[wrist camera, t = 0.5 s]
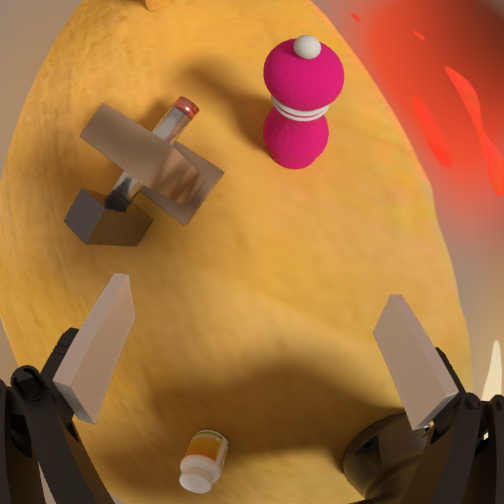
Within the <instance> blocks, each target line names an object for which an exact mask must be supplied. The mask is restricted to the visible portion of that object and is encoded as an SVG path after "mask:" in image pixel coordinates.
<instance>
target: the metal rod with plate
mask: <svg viewBox="0 0 504 504" xmlns="http://www.w3.org/2000/svg"><path fill="white" fill-rule="evenodd" d="M198 112H199V109H198V107H197V106H196V105H195V104H194V103H192V102H191V101H190V100H188V99H186V98H185V97H181V96H180V97H179V98H178V99H177V101H176V102H175V103H174V104H173V105H172V107H171V108H170V109H169V110H168V111H167V113H166V114H165V115H164V116H163V117H162V119H161V120H160V121H159V122H158V124H157V125H156V126H155V128H154V129H153V130H152V131H151V132H152V133H154V134H155V135H157V136H158V137H160V138H162V139H163V140H165V141H166V142H168V143H170V144H171V145H173V143H174V142H175V141H176V139H177V138H178V137H179V135H180V134H181V133H182V132H183V130H184V129H185V128H186V127H187V125H188V124H189V123H190V122H191V121H192V119H193V118H194V117H195V116H196V115H197V113H198ZM142 186H143V185H142V184H141V183H140V182H138V181H137V180H136V179H135V178H133V177H132V176H131V175H129V174H128V173H127V172H125V171H124V170H123V172H122V173H121V175H120V176H119V178H118V179H117V181H116V182H115V184H114V186H113V187H112V189H111V190H110V192H109V193H108V195H107V196H106V195H103V194H100V193H97V192H94V191H91V190H88V189H85V188H82V189H81V190H80V192H79V194H78V196H77V198H76V199H75V201H74V203H73V205H72V207H71V208H70V210H69V212H68V214H67V216H66V218H65V220H64V222H65V223H66V224H67V225H68V226H69V228H70V229H71V230H72V231H73V232H74V233H75V234H76V235H77V236H78V237H79V238H80V239H81V240H82V241H83V242H84V243H85V244H93V245H116V246H137V245H138V243H139V241H140V240H141V238H142V237H143V235H144V233H145V232H146V230H147V229H148V227H149V226H150V224H151V223H152V221H153V220H151V219H150V218H149V217H148V216H146V215H145V214H144V213H143V212H141V211H140V210H139V209H138V208H136V207H135V206H134V205H133V204H131V203H132V201H133V200H134V198H135V197H136V195H137V194H138V192H139V191H140V189H141V188H142Z"/></svg>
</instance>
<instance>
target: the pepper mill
mask: <svg viewBox="0 0 504 504" xmlns="http://www.w3.org/2000/svg"><path fill="white" fill-rule="evenodd" d="M263 71H264V81H265V84H266V87H267V89H268V90H269V92H270V93H271V98H272V102H273V104H274V107H273V108H272V110H271V111H270V112H269V114H268V115H267V117H266V119H265V122H264V128H263V138H264V141H265V144H266V146H267V148H268V149H269V151H270V154H271V156H272V158H273V159H274V160H275V161H276V162H277V163H278V164H279V165H281V166H283V167H285V168H289V169H301V168H305V167H307V166H309V165H310V164H311V163H313V161H314V160H315V159H316V158H317V157H318V156H319V155H320V154H321V153H322V152H323V150H324V149H325V147H326V145H327V141H328V135H329V130H328V125H327V121H326V118H325V116H324V113H325V112H326V111H327V109H328V108H329V105H330V103H332V102H333V101H334V100H335V99H336V98H337V97H338V95H339V94H340V92H341V90H342V87H343V83H344V70H343V65H342V63H341V61H340V59H339V57H338V56H337V55H336V54H335V52H334V51H333V50H332V49H331V48H329V47H328V46H326V45H325V44H323V43H321V42H319V41H318V40H317V39H316V38H315V37H313V36H310V35H302V36H300V37H298V38H295V39H290V40H287V41H284V42H282V43H280V44H278V45H277V46H276V47H275V48H274V49H273V50H272V51H271V52H270V53H269V55H268V56H267V58H266V61H265V64H264V70H263Z"/></svg>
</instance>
